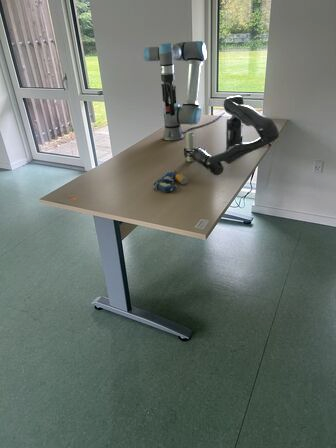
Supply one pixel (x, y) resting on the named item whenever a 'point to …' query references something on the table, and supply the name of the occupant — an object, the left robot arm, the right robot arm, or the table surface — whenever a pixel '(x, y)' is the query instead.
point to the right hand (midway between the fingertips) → (188, 148)
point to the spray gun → (169, 181)
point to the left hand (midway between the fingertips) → (170, 114)
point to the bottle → (189, 143)
